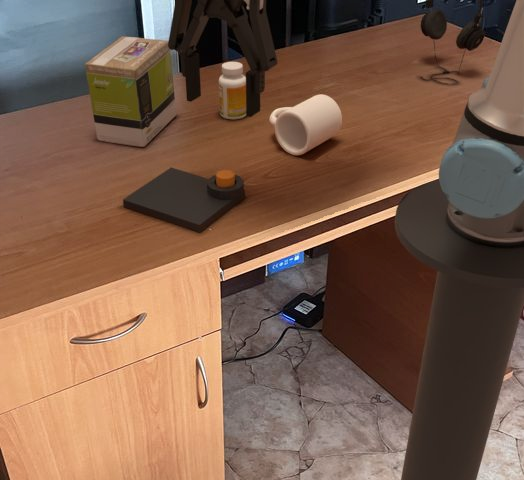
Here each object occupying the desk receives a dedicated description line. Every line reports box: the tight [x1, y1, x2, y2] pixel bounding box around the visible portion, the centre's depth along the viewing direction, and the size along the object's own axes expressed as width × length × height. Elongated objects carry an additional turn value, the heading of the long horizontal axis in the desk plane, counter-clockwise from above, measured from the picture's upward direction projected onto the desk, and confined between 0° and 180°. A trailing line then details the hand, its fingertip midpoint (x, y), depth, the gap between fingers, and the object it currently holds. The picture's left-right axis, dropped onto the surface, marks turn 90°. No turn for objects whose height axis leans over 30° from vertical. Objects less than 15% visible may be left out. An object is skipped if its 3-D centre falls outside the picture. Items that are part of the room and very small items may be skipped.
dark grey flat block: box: [122, 167, 246, 233], centre depth 127 cm, size 15×14×3 cm
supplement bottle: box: [218, 61, 247, 120], centre depth 151 cm, size 5×5×10 cm
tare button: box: [215, 169, 236, 187], centre depth 127 cm, size 3×3×2 cm
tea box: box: [85, 35, 177, 148], centre depth 144 cm, size 15×10×15 cm, turn 161°
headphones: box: [420, 0, 486, 85], centre depth 165 cm, size 15×11×20 cm
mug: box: [269, 93, 343, 156], centre depth 142 cm, size 12×10×8 cm
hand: (223, 105), depth 119 cm, fingers open, 10 cm apart
